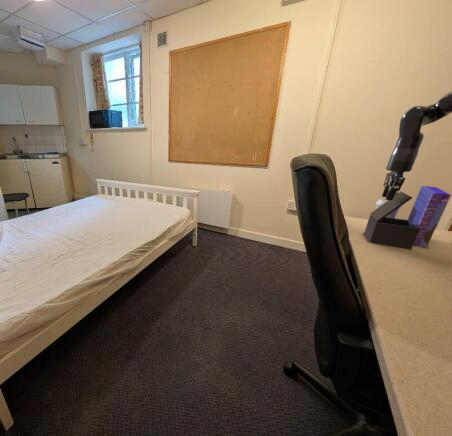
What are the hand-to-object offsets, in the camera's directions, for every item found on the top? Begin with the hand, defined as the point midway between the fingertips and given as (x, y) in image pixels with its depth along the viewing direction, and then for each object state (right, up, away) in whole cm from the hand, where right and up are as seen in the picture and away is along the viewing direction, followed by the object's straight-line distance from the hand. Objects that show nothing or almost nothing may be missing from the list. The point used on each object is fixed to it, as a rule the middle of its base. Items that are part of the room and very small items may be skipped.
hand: (386, 198), depth 98 cm
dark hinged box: (+4, -20, +5) cm, 21 cm away
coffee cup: (+16, -14, +19) cm, 29 cm away
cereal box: (+19, -19, +6) cm, 28 cm away
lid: (+2, -4, 0) cm, 4 cm away
